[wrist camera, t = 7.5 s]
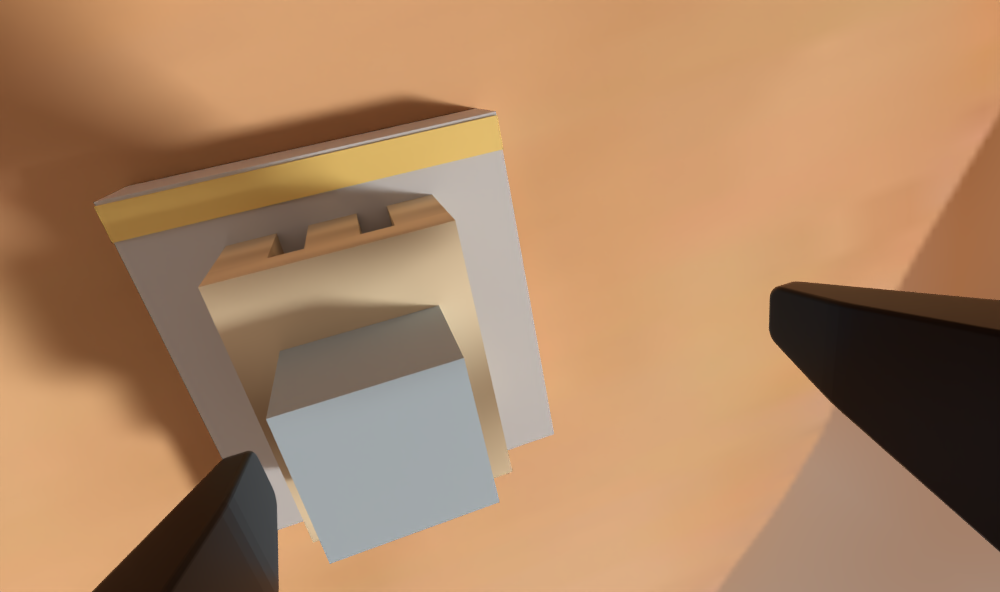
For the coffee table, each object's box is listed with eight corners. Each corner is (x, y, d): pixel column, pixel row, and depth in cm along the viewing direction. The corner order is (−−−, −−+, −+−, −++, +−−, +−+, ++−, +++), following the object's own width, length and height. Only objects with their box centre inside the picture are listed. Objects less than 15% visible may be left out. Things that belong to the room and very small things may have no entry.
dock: (475, 108, 18) (496, 111, 16) (532, 400, 23) (555, 435, 21) (126, 186, 16) (91, 203, 14) (268, 488, 21) (260, 537, 19)
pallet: (226, 245, 15) (197, 287, 12) (432, 194, 16) (455, 220, 13) (316, 465, 19) (313, 542, 15) (483, 410, 20) (512, 471, 16)
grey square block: (279, 350, 13) (265, 419, 10) (438, 305, 14) (463, 358, 11) (330, 476, 15) (329, 564, 12) (470, 430, 16) (499, 502, 13)
